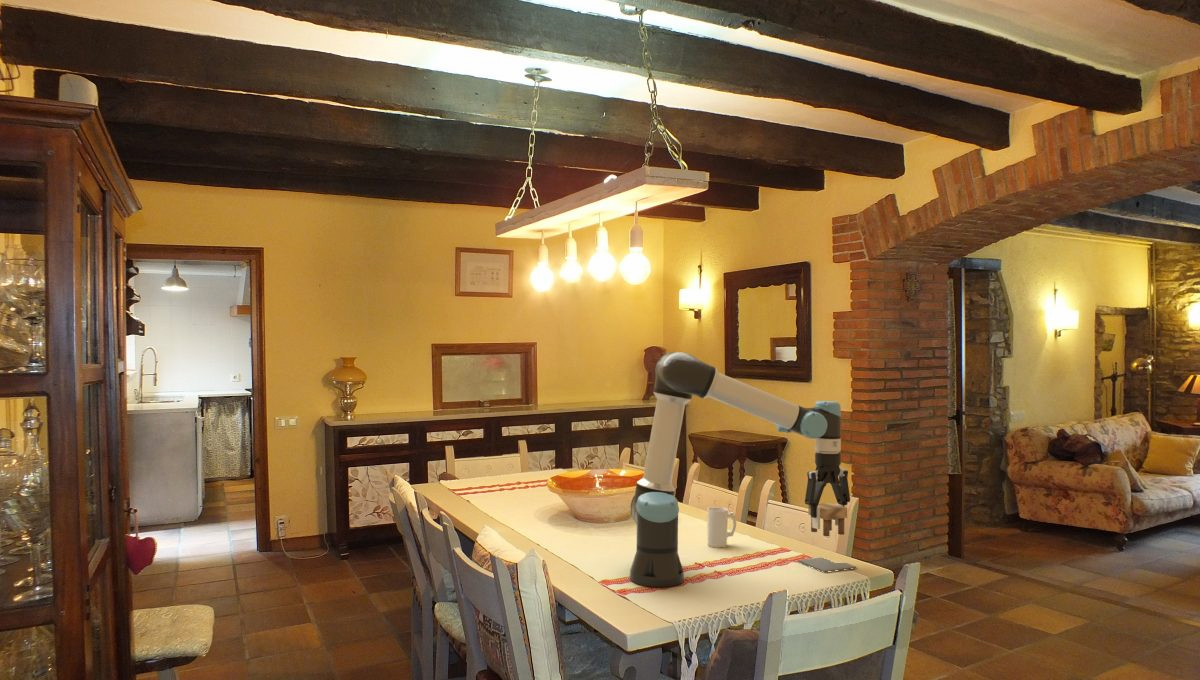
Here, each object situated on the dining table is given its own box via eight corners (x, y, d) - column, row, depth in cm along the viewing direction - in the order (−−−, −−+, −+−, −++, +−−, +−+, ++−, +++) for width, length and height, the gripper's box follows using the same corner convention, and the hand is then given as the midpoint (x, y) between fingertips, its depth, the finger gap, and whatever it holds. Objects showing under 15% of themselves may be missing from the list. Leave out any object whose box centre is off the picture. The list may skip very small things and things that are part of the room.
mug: (710, 548, 249) (711, 511, 249) (704, 543, 255) (704, 507, 256) (739, 547, 251) (740, 510, 251) (732, 542, 257) (732, 506, 258)
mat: (824, 572, 223) (824, 570, 223) (798, 562, 234) (798, 560, 234) (856, 568, 227) (856, 566, 227) (829, 558, 238) (829, 556, 238)
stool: (825, 536, 225) (825, 509, 225) (808, 530, 233) (808, 504, 233) (847, 534, 229) (847, 507, 229) (829, 528, 236) (829, 502, 236)
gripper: (808, 455, 223) (807, 532, 223) (863, 452, 232) (863, 526, 231) (792, 452, 230) (791, 527, 230) (846, 449, 239) (846, 521, 238)
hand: (827, 526), depth 231 cm, fingers closed on stool, 8 cm apart
